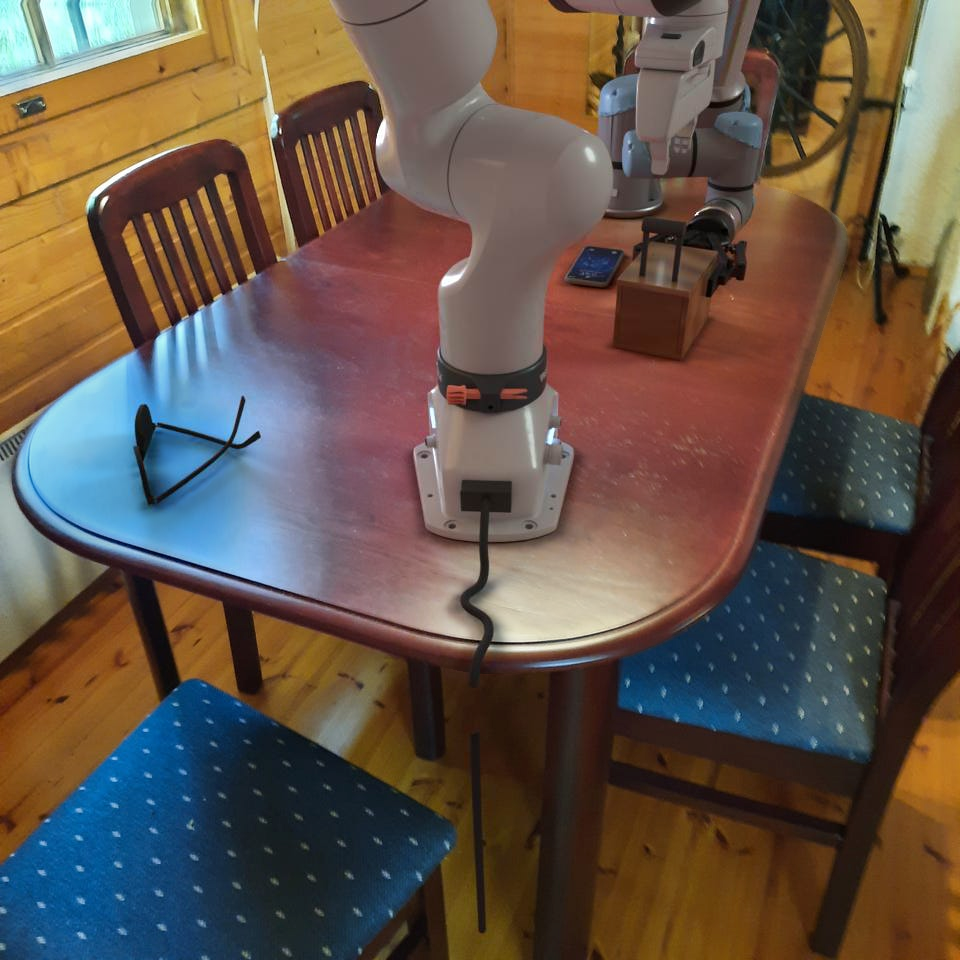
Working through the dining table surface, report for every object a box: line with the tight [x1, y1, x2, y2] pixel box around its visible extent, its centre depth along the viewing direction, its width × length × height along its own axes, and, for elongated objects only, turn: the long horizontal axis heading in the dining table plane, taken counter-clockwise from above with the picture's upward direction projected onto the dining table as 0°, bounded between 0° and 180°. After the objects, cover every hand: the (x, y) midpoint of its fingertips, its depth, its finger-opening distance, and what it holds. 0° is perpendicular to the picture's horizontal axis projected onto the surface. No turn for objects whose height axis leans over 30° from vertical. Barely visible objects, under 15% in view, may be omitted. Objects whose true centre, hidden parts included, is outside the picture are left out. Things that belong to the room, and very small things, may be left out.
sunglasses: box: [132, 395, 262, 506], centre depth 100 cm, size 17×14×5 cm
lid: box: [615, 216, 718, 298], centre depth 117 cm, size 15×10×9 cm, turn 153°
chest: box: [612, 258, 717, 362], centre depth 123 cm, size 15×10×10 cm
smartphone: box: [564, 245, 625, 288], centre depth 144 cm, size 7×1×15 cm
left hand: (671, 162), depth 106 cm, fingers open, 8 cm apart
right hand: (672, 282), depth 124 cm, fingers closed on chest, 10 cm apart
